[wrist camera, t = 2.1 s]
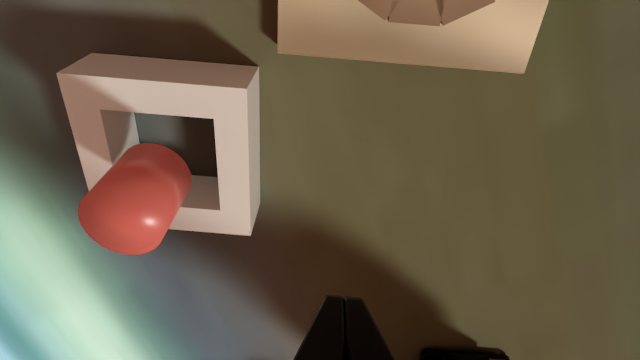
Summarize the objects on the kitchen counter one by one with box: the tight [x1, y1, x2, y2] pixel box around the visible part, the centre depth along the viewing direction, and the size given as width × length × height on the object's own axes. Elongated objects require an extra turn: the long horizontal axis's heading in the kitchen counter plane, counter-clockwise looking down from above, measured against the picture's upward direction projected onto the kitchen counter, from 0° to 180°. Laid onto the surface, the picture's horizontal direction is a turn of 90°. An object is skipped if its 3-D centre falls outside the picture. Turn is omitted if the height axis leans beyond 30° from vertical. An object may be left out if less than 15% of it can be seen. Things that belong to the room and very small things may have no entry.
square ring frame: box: [56, 53, 260, 236], centre depth 21 cm, size 8×8×3 cm
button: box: [78, 143, 192, 255], centre depth 18 cm, size 3×3×4 cm
